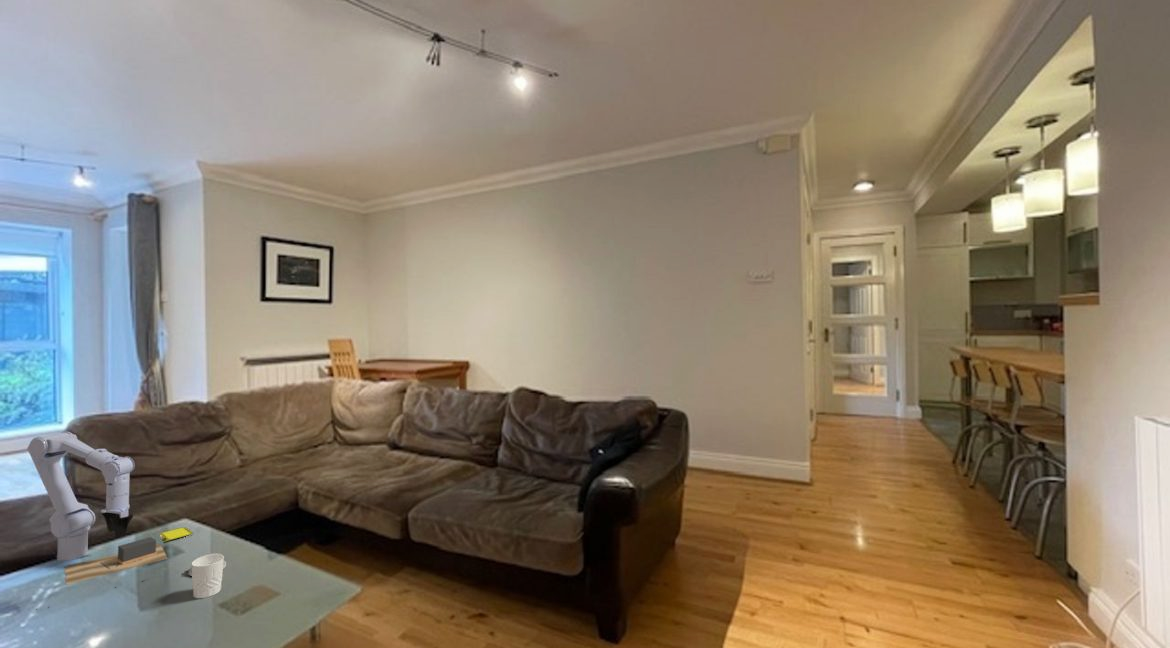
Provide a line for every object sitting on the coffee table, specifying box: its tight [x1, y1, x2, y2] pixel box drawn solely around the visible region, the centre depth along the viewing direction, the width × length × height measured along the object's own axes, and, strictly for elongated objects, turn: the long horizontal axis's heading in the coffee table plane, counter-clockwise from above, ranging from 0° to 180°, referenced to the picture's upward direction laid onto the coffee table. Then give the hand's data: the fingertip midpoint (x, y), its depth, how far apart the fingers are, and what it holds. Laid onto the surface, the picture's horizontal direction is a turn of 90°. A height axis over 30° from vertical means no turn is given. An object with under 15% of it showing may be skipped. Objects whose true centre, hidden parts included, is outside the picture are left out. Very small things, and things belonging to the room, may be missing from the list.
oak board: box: [64, 543, 169, 585], centre depth 165 cm, size 16×24×1 cm, turn 138°
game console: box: [153, 526, 194, 544], centre depth 186 cm, size 18×11×2 cm, turn 146°
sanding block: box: [117, 536, 157, 565], centre depth 169 cm, size 5×9×5 cm, turn 149°
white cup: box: [191, 553, 225, 599], centre depth 150 cm, size 8×8×10 cm
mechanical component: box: [188, 552, 227, 577], centre depth 164 cm, size 10×4×10 cm
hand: (116, 533), depth 168 cm, fingers open, 7 cm apart
